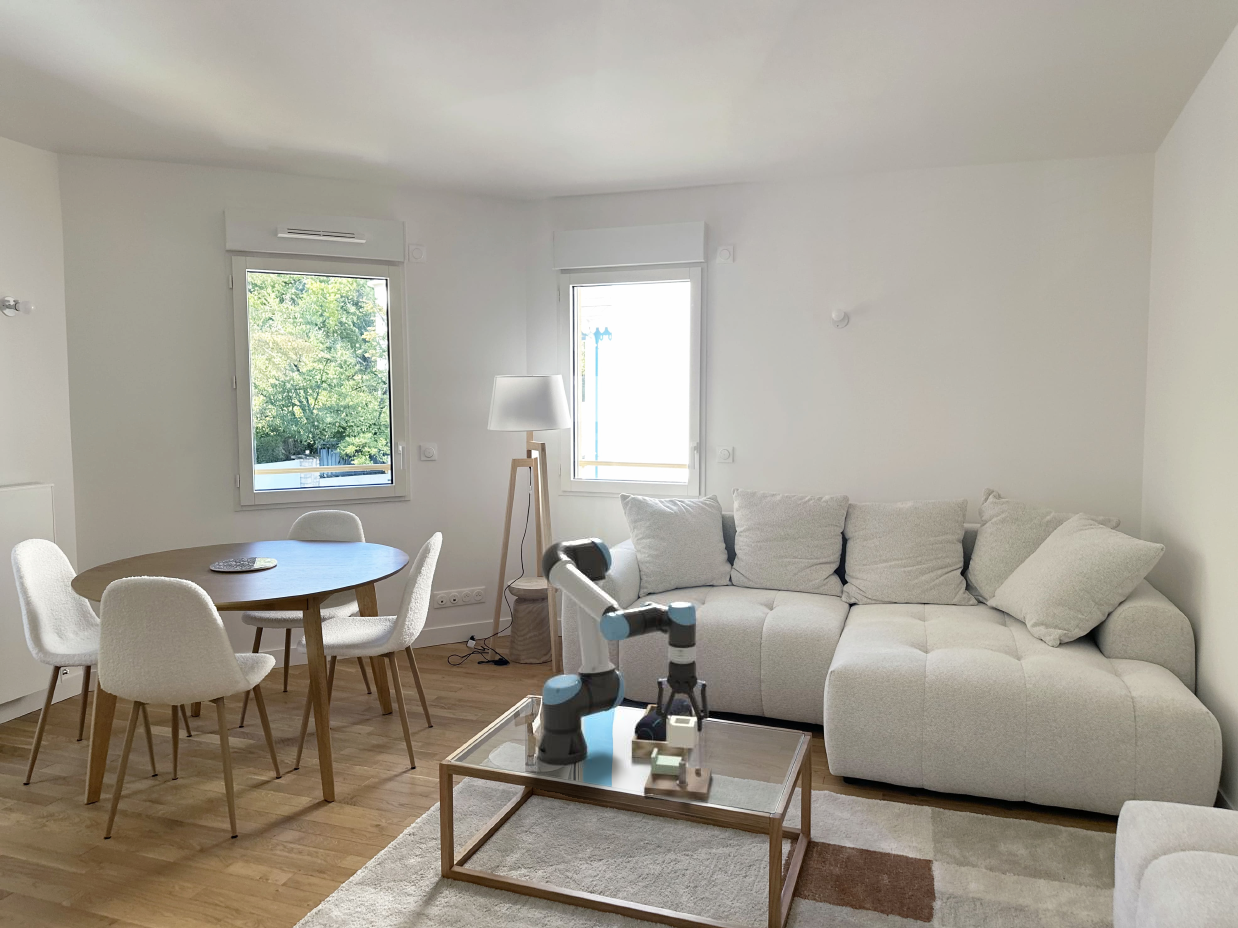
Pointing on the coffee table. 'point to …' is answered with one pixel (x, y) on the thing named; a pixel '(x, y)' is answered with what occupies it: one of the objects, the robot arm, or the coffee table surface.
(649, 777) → the base plate
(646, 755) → the open wooden box
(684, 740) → the sleeve
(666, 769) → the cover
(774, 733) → the coffee table surface
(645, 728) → the portable speaker
